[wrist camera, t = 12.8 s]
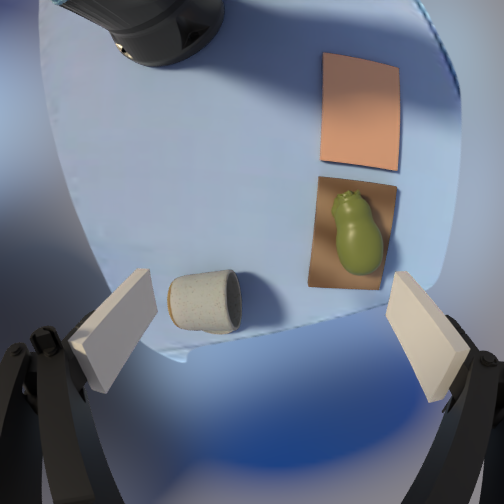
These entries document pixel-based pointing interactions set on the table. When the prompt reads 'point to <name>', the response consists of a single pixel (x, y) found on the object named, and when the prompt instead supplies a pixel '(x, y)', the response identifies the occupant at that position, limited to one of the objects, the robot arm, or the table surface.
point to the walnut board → (324, 238)
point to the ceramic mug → (206, 302)
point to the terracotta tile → (360, 112)
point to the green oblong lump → (356, 234)
